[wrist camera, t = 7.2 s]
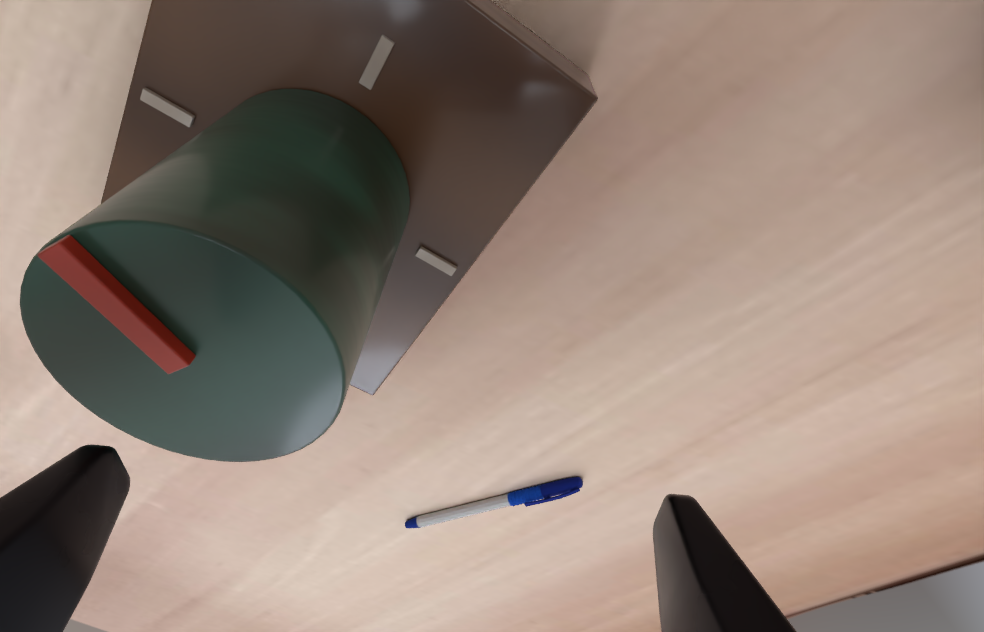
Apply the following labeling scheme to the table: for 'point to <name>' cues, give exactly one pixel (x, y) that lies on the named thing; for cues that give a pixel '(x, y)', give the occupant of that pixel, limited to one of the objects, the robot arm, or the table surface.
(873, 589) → the table surface
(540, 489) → the ballpoint pen
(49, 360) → the rotary knob
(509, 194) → the dial knob base plate
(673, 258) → the table surface
